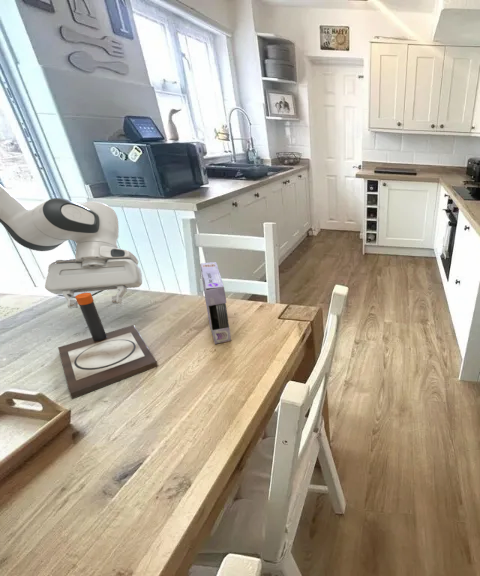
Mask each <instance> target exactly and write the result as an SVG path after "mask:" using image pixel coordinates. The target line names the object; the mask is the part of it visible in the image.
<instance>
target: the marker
mask: <svg viewBox="0 0 480 576" xmlns="http://www.w3.org/2000/svg"><path fill="white" fill-rule="evenodd" d="M74 296H75V297H74V298H75V300H76V301H77V303H78V307H79V309H80V311H81V313H82V316H83V318H84V320H85V323H86V326H87V328H88V330H89V333H90V335H91V337H92V338H93V340H94V341H101V340H103V339H105V338H106V337H107V336H106V333H107V332H106V330H105V328H104V325H103V323H102V320H101V318H100V315H99V313H98V310H97V307H96V304H95V301H94V298H93V295H92V293H91V292H80V293H79V294H77V295H74Z"/></svg>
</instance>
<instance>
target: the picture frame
mask: <svg viewBox="0 0 480 576" xmlns="http://www.w3.org/2000/svg"><path fill="white" fill-rule="evenodd" d="M105 333H106V336H107V337H106V338H105V339H103V340H101V341H94V340H93V338H92V336H91V337H87V338H85V339H82V340H78V341H74V342H71V343H68V344H64V345H61V346H58V347H57V349H58V353H59V357H60V361H61V365H62V369H63V372H64V377H65V381H66V384H67V387H68V392H69V395H70V398H71V399H76V398H79V397H81V396H83V395H86V394H89V393H91V392H94V391H97V390H99V389H102V388H104V387H106V386H107V387H108V386H109V385H112V384H115V383H118V382H120V381H123V380H125V379H128V378H130V377H133V376H136V375H139V374H141V373H143V372H146V371H149V370H151V369H154V368H157V367H159V365H158V361H157V359H156V358H155V357H154V355H153V353H152V352H151V350H150V348H149V347H148V345H147V344H146V341H144V338H142V336H141V334H140V332H139V330H138V329H137V328H136V326H135V325H134V324H132V325H129V326H126V327H122V328H119V329H115V330H112V331H108V332H105Z"/></svg>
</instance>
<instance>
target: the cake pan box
mask: <svg viewBox="0 0 480 576" xmlns="http://www.w3.org/2000/svg"><path fill="white" fill-rule="evenodd" d="M199 266H200V274H201V275H200V276H201V280H202V286H203V287H202V288H203V294H204V300H205V306H206V311H207V319H208V322H209V327H210V331H211V335H212V339H213V343H214V345H219V344H223V343H227V342H232V334H231V329H230V324H229V316H228V310H227V308H228V307H227V297H226V291H225V286H224V282H223V279H222V276H221V273H220V270H219V266H218V263H217V262H216V261H215V262H213V261H212V262H211V261H210V262H202V263H200V264H199Z"/></svg>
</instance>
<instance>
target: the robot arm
mask: <svg viewBox="0 0 480 576" xmlns="http://www.w3.org/2000/svg"><path fill="white" fill-rule="evenodd" d="M0 224H1V225H2V226H3V227H4V229H5V230H6V231H7V233H8V234H9V236H10V237H12V239H13V241H15V243H17V244H19V245H21V247H24V248H26V249H29V250H32V251H36V252H49V251H53V250H55V249H56V248H58V247H60V246H61V245H62V244H64V243H65V242H66V241H73V242H75V244H76V245H75V258H69V259H56V260H55V261H54V262H51V263H50V264H49V265H48V269H47V272H48V273H47V275H46V279H45V284H44V288H45V289H46V290H47V292H49V293H51V294H54V295H62V296H63V298H64V299H65V300H66V301H67V308H68V309H77V308H79V304H78V303H77V300H76V299H74V298H73V297H74V296H75V294H76V293H89V292H98V291H111V290H117V291H118V292H117V293H116V295H112V296H111V303H112V304H114V305H119V304H122V298H123V297H124V296H125V294H126V293H127V290H128V289H132V288H133V289H134V288H140V287H141V286H142V284H143V273H142V269H141V267H140V266H139V260H138V258H137V256H136V255H135V254H134V253H133V252H131V251H130V250H129V249H123V248H119V246H118V239H119V236H120V225H119V218H118V215H117V213H116V211H115V209H114V208H113V207H111V206H109V205H107V204H106V203H103V202H100V201H99V202H98V201H96V200H95V201H93V200H91V201H90V200H89V201H85V202H76V201H72V200H71V199H70V200H69V199H66V198H61V197H54V198H50V199H48V200H46V201H44V202H42V203H40V204H38V205H37V206H36V207H34V208H33V209H29V208H27V207H26V206H25V205H23V204H22V203H21V202H20V201H19V200H18V199H17V198H16V197H15V196H14V195H13V194H12V193H11V192H10V191H8V189H6V188H5V187H4V186H3V185H2V184H0Z"/></svg>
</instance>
